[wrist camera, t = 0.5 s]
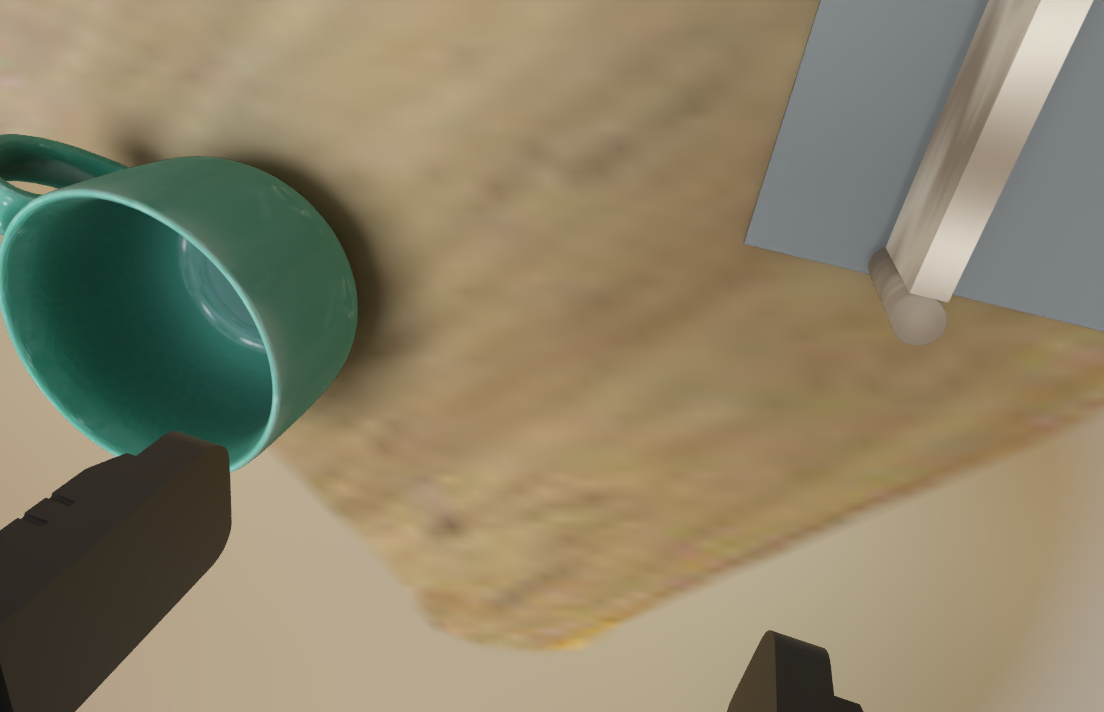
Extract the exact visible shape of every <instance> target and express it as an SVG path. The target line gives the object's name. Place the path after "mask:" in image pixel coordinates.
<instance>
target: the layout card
mask: <svg viewBox="0 0 1104 712" xmlns="http://www.w3.org/2000/svg"><path fill="white" fill-rule="evenodd" d="M988 1H989V0H820V3H819V7H818V10H817V13H816V16H815V19H814V22H813V25H812V29H811V32H810V35H809V38H808V41H807V44H806V48H805V51H804V54H803V57H802V60H801V63H800V67H799V70H798V73H797V76H796V79H795V82H794V86H793V89H792V92H791V95H790V98H789V101H788V105H787V108H786V111H785V114H784V117H783V120H782V124H781V127H780V130H779V133H778V136H777V139H776V143H775V146H774V149H773V152H772V155H771V158H770V161H769V165H768V168H767V171H766V174H765V177H764V180H763V184H762V187H761V190H760V193H759V196H758V199H757V203H756V206H755V209H754V212H753V215H752V218H751V222H750V225H749V228H748V231H747V234H746V237H745V241H744V244H747V245H751V246H755V247H759V248H763V249H767V250H771V251H776V252H780V253H784V254H788V255H792V256H796V257H800V258H804V259H808V260H812V261H817V262H821V263H825V264H829V265H833V266H837V267H841V268H845V269H849V270H853V271H858V272H862V273H866V274H870V273H869V269H868V267H869V262H870V259H871V258H872V256H873V255H874V254H875V253H876V252H877V251H878V250H880V249H882V248H884V247H886V245H887V243H888V240H889V238H890V236H891V233H892V231H893V228H894V226H895V224H896V221H897V219H898V216H899V214H900V212H901V209H902V207H903V204H904V202H905V200H906V197H907V195H908V192H909V190H910V188H911V185H912V183H913V180H914V178H915V176H916V173H917V171H918V169H919V166H920V164H921V161H922V159H923V157H924V154H925V152H926V149H927V147H928V145H929V142H930V140H931V137H932V135H933V133H934V130H935V128H936V125H937V123H938V121H939V118H940V116H941V113H942V111H943V109H944V106H945V104H946V101H947V99H948V97H949V94H950V92H951V89H952V87H953V85H954V82H955V80H956V77H957V75H958V73H959V70H960V68H961V65H962V63H963V61H964V58H965V56H966V53H967V51H968V49H969V46H970V44H971V41H972V39H973V37H974V34H975V32H976V30H977V27H978V25H979V22H980V20H981V18H982V15H983V13H984V10H985V8H986V6H987V3H988ZM952 295H956V296H960V297H964V298H968V299H972V300H976V301H980V302H985V303H989V304H993V305H997V306H1001V307H1005V308H1009V309H1013V310H1017V311H1021V312H1025V313H1030V314H1034V315H1038V316H1042V317H1046V318H1050V319H1054V320H1058V321H1062V322H1066V323H1071V324H1075V325H1079V326H1083V327H1087V328H1091V329H1095V330H1099V331H1103V332H1104V0H1093V2H1092V5H1091V7H1090V9H1089V11H1088V13H1087V15H1086V17H1085V19H1084V21H1083V23H1082V25H1081V27H1080V30H1079V32H1078V34H1077V36H1076V38H1075V40H1074V42H1073V44H1072V46H1071V48H1070V50H1069V52H1068V54H1067V57H1066V59H1065V61H1064V63H1063V65H1062V67H1061V69H1060V71H1059V73H1058V75H1057V77H1056V79H1055V82H1054V84H1053V86H1052V88H1051V90H1050V92H1049V94H1048V96H1047V98H1046V100H1045V102H1044V104H1043V107H1042V109H1041V111H1040V113H1039V115H1038V117H1037V119H1036V121H1035V123H1034V125H1033V127H1032V129H1031V132H1030V134H1029V136H1028V138H1027V140H1026V142H1025V144H1024V146H1023V148H1022V150H1021V152H1020V154H1019V157H1018V159H1017V161H1016V163H1015V165H1014V167H1013V169H1012V171H1011V173H1010V175H1009V177H1008V179H1007V181H1006V184H1005V186H1004V188H1003V190H1002V192H1001V194H1000V196H999V198H998V200H997V202H996V204H995V206H994V209H993V211H992V213H991V215H990V217H989V219H988V221H987V223H986V225H985V227H984V229H983V231H982V234H981V236H980V238H979V240H978V242H977V244H976V246H975V248H974V250H973V252H972V254H971V256H970V259H969V261H968V263H967V265H966V267H965V269H964V271H963V273H962V275H961V277H960V279H959V281H958V284H957V286H956V288H955V290H954V292H953V294H952Z"/></svg>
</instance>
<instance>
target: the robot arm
mask: <svg viewBox="0 0 1104 712" xmlns="http://www.w3.org/2000/svg"><path fill="white" fill-rule="evenodd" d="M230 493H231V491H230V461H229V454H228V451H227V449H226V448H225V447H224V446H221V445H218V444H215V443H212V442H209V441H206V440H203V439H200V438H197V437H194V436H191V435H188V434H185V433H182V432H179V431H172V432H169V433H167V434H165V435H163V436H162V437H160V438H159V439H158V440H156V441H155V442H154V443H152V444H151V445H150V446H148V447H147V448H146V449H144V450H143V451H142V452H141V453H139V454H138V455H137V456H135V455H132V454H129V453H125V454H122V455H120V456H117V457H115V458H112V459H110V460H107V461H105V462H102V463H100V464H97V465H95V466H92V467H90V468H87V469H85V470H84V471H82V472H81V473H79V474H78V475H77V476H75V477H74V478H72V479H71V480H70V481H68V482H67V483H66V484H64V485H63V486H61V487H60V488H59V489H57V490H56V491H55V492H53V493H52V496H51V498H49V499H48V498H45V499H43V500H42V501H40V502H39V503H38V504H36V505H35V506H34V507H32V508H31V509H29V510H28V511H27V512H25V515H24V517H23V518H22V519H19V518H17V519H15V520H14V521H13V522H11V523H10V524H8V525H7V526H6V527H4V528H3V529H1V530H0V712H75V711H76V710H77V709H78V708H79V707H80V706H81V705H82V704H83V703H84V702H85V700H86V699H87V698H88V697H89V696H90V695H91V694H92V693H93V692H94V691H95V690H96V689H97V688H98V687H99V686H100V685H101V684H102V682H103V681H104V680H105V679H106V678H107V677H108V676H109V675H110V674H111V673H112V672H113V671H114V670H115V669H116V668H117V666H118V665H119V664H120V663H121V662H122V661H123V660H124V659H125V658H126V657H127V656H128V655H129V654H130V653H131V652H132V651H133V649H134V648H135V647H136V646H137V645H138V644H139V643H140V642H141V641H142V640H143V639H144V638H145V637H146V636H147V635H148V633H149V632H150V631H151V630H152V629H153V628H154V627H155V626H156V625H157V624H158V622H160V621H161V620H162V619H163V617H164V616H165V615H166V614H167V613H168V612H169V611H170V610H171V609H172V608H173V607H174V606H175V605H176V604H177V603H178V602H179V601H180V599H181V598H182V597H183V596H184V595H185V594H186V593H187V592H188V591H189V590H190V589H191V588H192V587H193V586H194V585H195V584H196V582H197V581H198V580H199V579H200V578H201V577H202V576H203V575H204V574H205V573H206V572H207V571H208V569H210V568H211V566H212V565H213V564H214V563H215V562H216V560H217V559H218V558H219V556H220V554H221V553H222V551H223V549H224V547H225V545H226V542H227V540H228V537H229V534H230V530H231V494H230ZM727 712H863V710H862V708H861V706H860V704H857V703H854V702H851V701H848V700H845V699H842V698H839V697H836V696H834V691H833V683H832V673H831V664H830V659H829V654H828V652H827V650H826V649H825V648H822V647H819V646H815V645H813V644H810V643H806V642H804V641H801V640H798V639H795V638H792V637H789V636H786V635H783V634H780V633H777V632H774V631H770V630H769V631H767V632H766V633H765V634H764V636H763V637H762V639H761V641H760V643H759V645H758V647H757V649H756V651H755V653H754V655H753V657H752V659H751V661H750V663H749V665H748V667H747V669H746V671H745V673H744V675H743V677H742V679H741V681H740V683H739V685H738V687H737V689H736V691H735V693H734V695H733V698H732V699H731V702H730V704H729V707H728V711H727Z"/></svg>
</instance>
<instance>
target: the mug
mask: <svg viewBox="0 0 1104 712" xmlns="http://www.w3.org/2000/svg"><path fill="white" fill-rule="evenodd" d="M6 181H22V182H30V183H37V184H42V185H46V186H51V187H54V188H58V189H57V190H54V191H51V192H49V193H46V194H44V195H40V194H34V193H30V192H27V191H24V190H21V189H19V188H16V187H15V186H13V185H11V184H9V183H8V182H6ZM0 234H1V235H3V238H2V242H1V245H0V309H1V312H2V316H3V320H4V322H5V325H6V328H7V330H8V333H9V336H10V338H11V341H12V343H13V345H14V348H15V350H16V351H17V354H18V356H19V357H20V359H21V361H22V363H23V364H24V366H25V368H26V370H27V371H28V373H29V374H30V376H31V377H32V379H33V380H34V382H35V383H36V385H37V386H38V387H39V388H40V390H41V391H42V392H43V393H44V395H45V396H46V397H47V398H48V400H49V401H50V402H51V403H52V404H53V405H54V406H55V408H56V409H57V410H58V411H59V412H60V413H61V414H62V415H63V416H64V417H65V418H66V419H67V420H68V421H69V422H70V423H71V424H72V425H73V426H74V427H75V428H77V429H78V430H79V431H80V432H82V433H83V434H84V435H85V436H86V437H88V438H89V439H90V440H92V441H93V442H94V443H96V444H97V445H99V446H100V447H102V448H103V449H105V450H106V451H108V452H109V453H111V454H113V455H114V456H116V457H117V456H120V455H122V454H125V453H129V454H132V455H135V456H137V455H138V454H139V453H141V452H142V451H143V450H144V449H146V448H147V447H148V446H150V445H151V444H152V443H154V442H155V441H156V440H158V439H159V438H160V437H162V436H163V435H165V434H167V433H169V432H172V431H179V432H182V433H185V434H188V435H191V436H194V437H197V438H200V439H203V440H206V441H209V442H212V443H215V444H218V445H221V446H224V447H225V448H226V449H227V451H228V454H229V461H230V472H233V471H235V470H238V469H240V468H241V467H243V466H245V465H246V464H247V463H249V462H250V461H252V460H253V459H254V458H256V457H257V456H258V455H259V454H261V453H262V452H263V451H264V450H265V449H266V448H267V447H268V446H270V445H271V444H272V443H273V442H274V441H275V440H276V439H277V438H278V437H279V436H281V435H282V434H283V433H284V432H285V431H286V430H287V429H288V428H289V427H290V426H291V425H292V424H293V423H294V422H295V421H296V420H297V419H298V418H300V417H301V416H302V415H303V414H304V413H305V412H306V411H307V410H308V409H309V408H310V406H311V405H312V404H313V403H314V402H315V401H316V400H317V399H318V398H319V397H320V396H321V395H322V394H323V393H324V391H325V390H326V389H327V388H328V387H329V386H330V384H331V383H332V382H333V380H334V379H335V378H336V377H337V375H338V373H339V372H340V370H341V369H342V367H343V365H344V363H345V362H346V360H347V357H348V355H349V353H350V350H351V347H352V344H353V341H354V337H355V333H356V327H357V319H358V301H357V291H356V284H355V281H354V277H353V273H352V270H351V267H350V264H349V261H348V259H347V256H346V254H345V252H344V250H343V248H342V246H341V244H340V242H339V240H338V239H337V237H336V235H335V234H334V232H333V230H332V229H331V227H330V226H329V225H328V223H327V222H326V221H325V220H324V218H323V217H322V216H321V215H320V214H319V213H318V211H317V210H316V209H315V208H314V207H313V206H312V205H311V204H310V203H309V202H308V201H307V200H306V199H305V198H304V197H303V196H301V195H300V194H299V193H298V192H296V191H295V190H294V189H293V188H291V187H290V186H288V185H287V184H285V183H284V182H282V181H281V180H279V179H278V178H276V177H274V176H272V175H270V174H268V173H266V172H264V171H262V170H260V169H258V168H255V167H252V166H249V165H247V164H244V163H241V162H237V161H233V160H228V159H223V158H216V157H200V156H196V157H181V158H173V159H167V160H162V161H157V162H153V163H148V164H143V165H139V166H136V167H132V168H129V167H127V166H124V165H122V164H120V163H117V162H115V161H112V160H110V159H107V158H105V157H102V156H100V155H97V154H94V153H91V152H89V151H86V150H83V149H80V148H77V147H74V146H71V145H68V144H64V143H60V142H57V141H53V140H49V139H44V138H40V137H33V136H26V135H18V134H5V135H0Z"/></svg>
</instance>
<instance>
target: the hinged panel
mask: <svg viewBox="0 0 1104 712" xmlns="http://www.w3.org/2000/svg"><path fill="white" fill-rule="evenodd" d="M1092 2H1093V0H989V1H988V3H987V6H986V8H985V10H984V13H983V15H982V18H981V20H980V22H979V25H978V27H977V30H976V32H975V34H974V37H973V39H972V41H971V44H970V46H969V49H968V51H967V53H966V56H965V58H964V61H963V63H962V65H961V68H960V70H959V73H958V75H957V77H956V80H955V82H954V85H953V87H952V89H951V92H950V94H949V97H948V99H947V101H946V104H945V106H944V109H943V111H942V113H941V116H940V118H939V121H938V123H937V125H936V128H935V130H934V133H933V135H932V137H931V140H930V142H929V145H928V147H927V149H926V152H925V154H924V157H923V159H922V161H921V164H920V166H919V169H918V171H917V173H916V176H915V178H914V180H913V183H912V185H911V188H910V190H909V192H908V195H907V197H906V200H905V202H904V204H903V207H902V209H901V212H900V214H899V216H898V219H897V221H896V224H895V226H894V228H893V231H892V233H891V236H890V238H889V240H888V243H887V245H886V247H884V248H882V249H880V250H878V251H877V252H876V253H875V254H874V255H873V256H872V258H871V259H870V262H869V267H868V269H869V273H870V276H871V278H872V281H873V283H874V285H875V288H876V290H877V293H878V295H879V298H880V300H881V302H882V305H883V307H884V310H885V312H886V314H887V317H888V319H889V322H890V324H891V326H892V329H893V331H894V333H895V335H896V336H897V338H898V339H900V340H901V341H902V342H904V343H907V344H910V345H925V344H928V343H931V342H933V341H935V340H936V339H938V338H939V337H940V336H941V335H942V334H943V332H944V331H945V329H946V326H947V321H948V319H947V314H946V312H945V310H944V308H943V307H942V305H941V303H940V302H939V301H943V302H949V300H950V298H951V296H952V294H953V292H954V290H955V288H956V286H957V284H958V281H959V279H960V277H961V275H962V273H963V271H964V269H965V267H966V265H967V263H968V261H969V259H970V256H971V254H972V252H973V250H974V248H975V246H976V244H977V242H978V240H979V238H980V236H981V234H982V231H983V229H984V227H985V225H986V223H987V221H988V219H989V217H990V215H991V213H992V211H993V209H994V206H995V204H996V202H997V200H998V198H999V196H1000V194H1001V192H1002V190H1003V188H1004V186H1005V184H1006V181H1007V179H1008V177H1009V175H1010V173H1011V171H1012V169H1013V167H1014V165H1015V163H1016V161H1017V159H1018V157H1019V154H1020V152H1021V150H1022V148H1023V146H1024V144H1025V142H1026V140H1027V138H1028V136H1029V134H1030V132H1031V129H1032V127H1033V125H1034V123H1035V121H1036V119H1037V117H1038V115H1039V113H1040V111H1041V109H1042V107H1043V104H1044V102H1045V100H1046V98H1047V96H1048V94H1049V92H1050V90H1051V88H1052V86H1053V84H1054V82H1055V79H1056V77H1057V75H1058V73H1059V71H1060V69H1061V67H1062V65H1063V63H1064V61H1065V59H1066V57H1067V54H1068V52H1069V50H1070V48H1071V46H1072V44H1073V42H1074V40H1075V38H1076V36H1077V34H1078V32H1079V30H1080V27H1081V25H1082V23H1083V21H1084V19H1085V17H1086V15H1087V13H1088V11H1089V9H1090V7H1091V5H1092Z"/></svg>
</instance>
